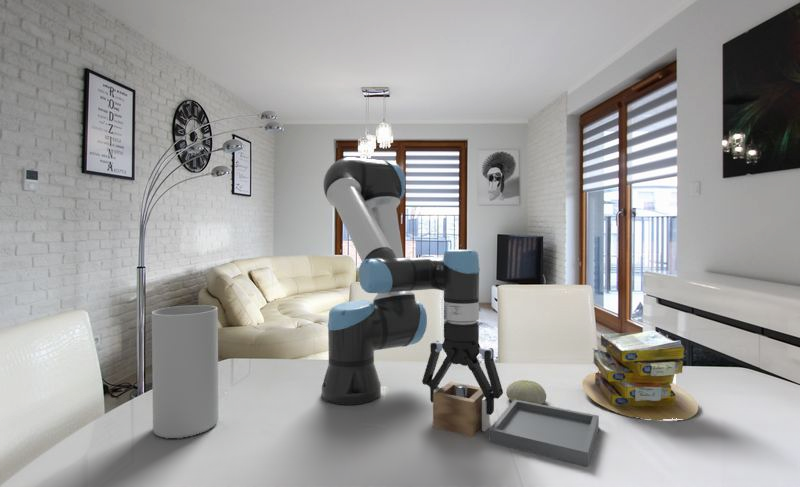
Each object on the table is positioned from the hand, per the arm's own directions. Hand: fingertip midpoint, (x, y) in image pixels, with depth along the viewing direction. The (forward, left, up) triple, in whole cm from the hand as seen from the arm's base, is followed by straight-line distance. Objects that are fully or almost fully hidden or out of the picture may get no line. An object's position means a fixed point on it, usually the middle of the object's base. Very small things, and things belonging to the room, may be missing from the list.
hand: (461, 422), depth 93 cm
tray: (+17, +4, 0) cm, 17 cm away
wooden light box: (0, +1, 0) cm, 1 cm away
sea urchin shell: (+9, +20, -1) cm, 22 cm away
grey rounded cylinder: (0, 0, 0) cm, 0 cm away
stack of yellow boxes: (+32, +35, 0) cm, 47 cm away
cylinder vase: (-50, -31, 0) cm, 59 cm away
